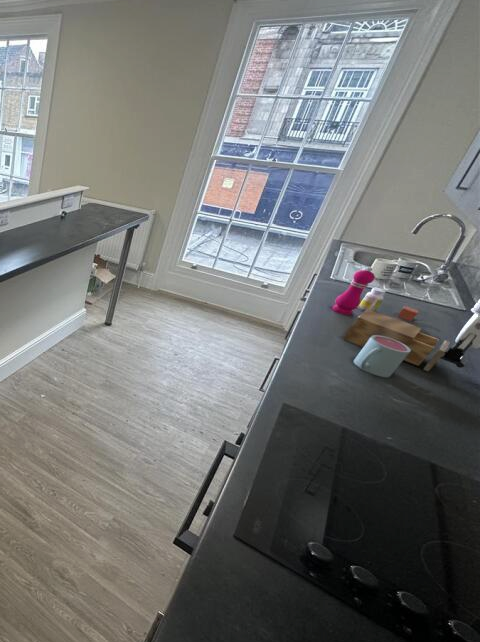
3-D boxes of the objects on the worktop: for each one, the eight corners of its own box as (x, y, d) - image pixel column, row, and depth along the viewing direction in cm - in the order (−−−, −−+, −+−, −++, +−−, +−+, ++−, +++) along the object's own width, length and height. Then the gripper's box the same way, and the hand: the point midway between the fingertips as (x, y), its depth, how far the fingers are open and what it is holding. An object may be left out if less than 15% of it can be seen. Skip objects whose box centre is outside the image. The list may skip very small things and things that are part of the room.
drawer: (456, 369, 131) (474, 350, 126) (451, 381, 124) (469, 361, 120) (382, 341, 143) (396, 322, 139) (374, 350, 137) (389, 331, 133)
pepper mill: (343, 317, 159) (374, 271, 149) (325, 308, 165) (353, 263, 155) (356, 316, 161) (387, 270, 151) (337, 307, 167) (366, 263, 157)
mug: (362, 358, 133) (381, 333, 128) (396, 375, 126) (417, 349, 121) (338, 364, 128) (356, 339, 123) (371, 383, 121) (391, 356, 116)
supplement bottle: (371, 310, 168) (386, 289, 163) (375, 315, 164) (390, 294, 159) (355, 306, 170) (369, 285, 165) (358, 311, 166) (373, 290, 161)
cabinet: (403, 351, 140) (421, 328, 135) (395, 361, 133) (414, 338, 128) (352, 331, 150) (367, 309, 145) (342, 340, 143) (358, 317, 138)
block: (412, 319, 163) (419, 310, 161) (410, 322, 161) (417, 313, 159) (398, 315, 166) (405, 305, 164) (395, 317, 164) (402, 308, 162)
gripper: (509, 323, 112) (461, 374, 121) (513, 311, 120) (468, 360, 129) (471, 311, 117) (428, 361, 126) (477, 300, 125) (436, 348, 134)
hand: (448, 360), depth 128 cm, fingers closed
